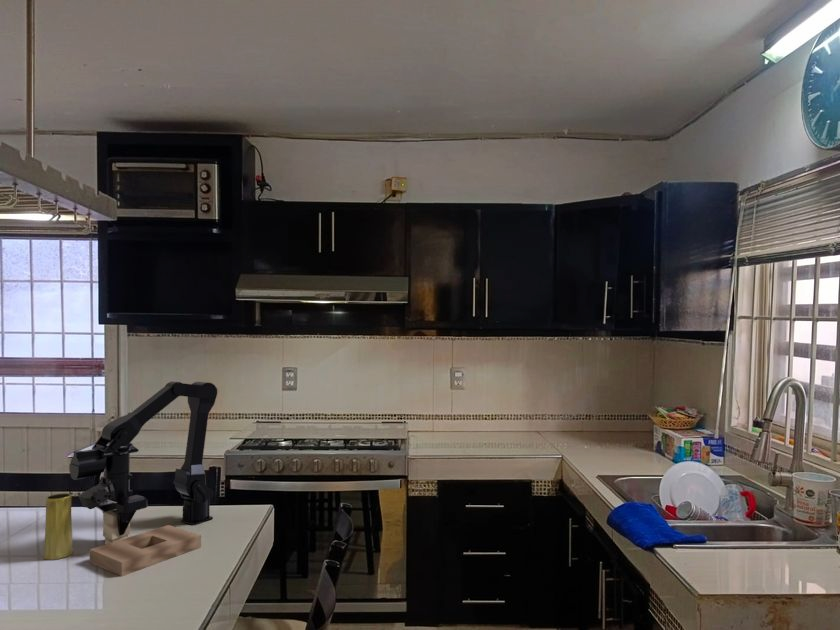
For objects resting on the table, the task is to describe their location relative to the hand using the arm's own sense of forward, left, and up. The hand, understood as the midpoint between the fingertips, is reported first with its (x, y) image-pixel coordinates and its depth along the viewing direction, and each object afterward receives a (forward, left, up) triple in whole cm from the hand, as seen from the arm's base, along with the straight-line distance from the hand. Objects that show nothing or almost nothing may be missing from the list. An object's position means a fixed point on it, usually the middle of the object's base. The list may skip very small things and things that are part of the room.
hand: (116, 533), depth 144 cm
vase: (+12, -4, -3) cm, 13 cm away
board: (0, +14, -2) cm, 14 cm away
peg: (0, 0, -2) cm, 2 cm away
